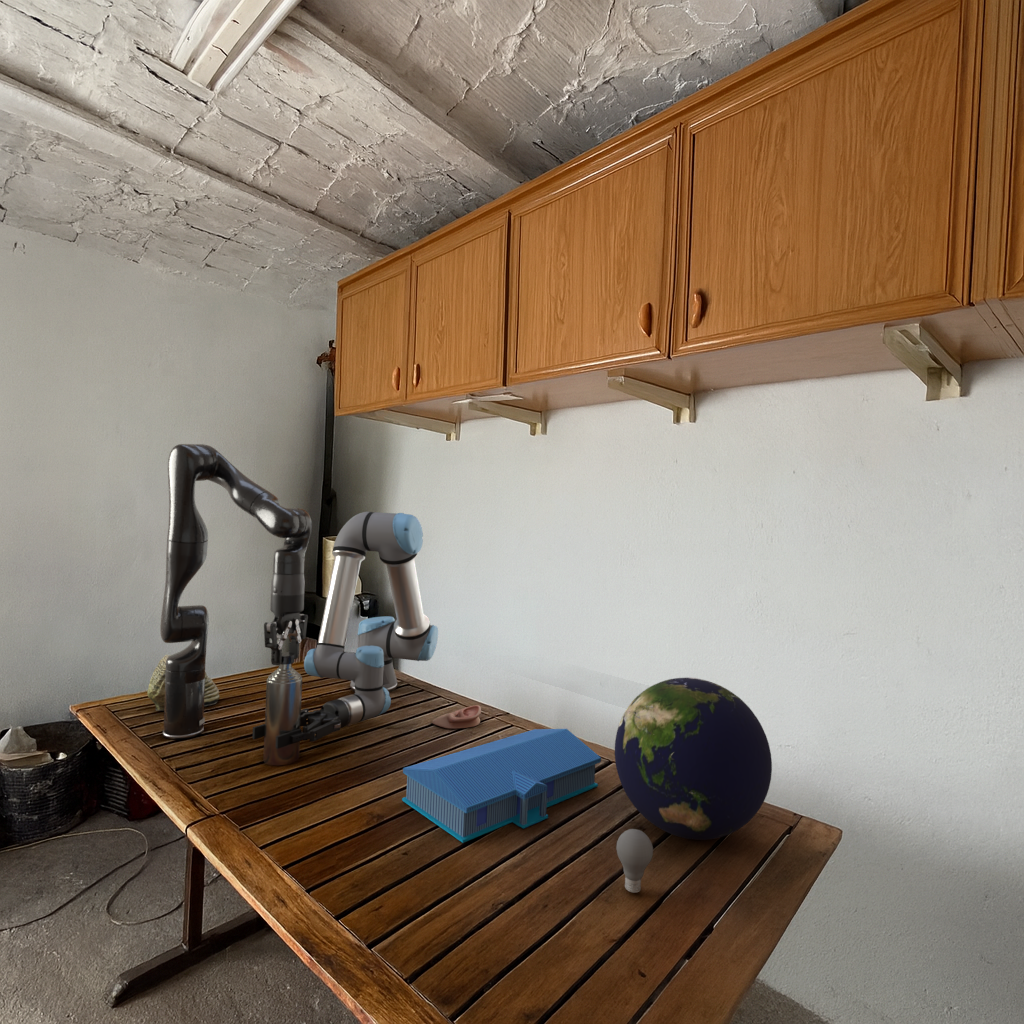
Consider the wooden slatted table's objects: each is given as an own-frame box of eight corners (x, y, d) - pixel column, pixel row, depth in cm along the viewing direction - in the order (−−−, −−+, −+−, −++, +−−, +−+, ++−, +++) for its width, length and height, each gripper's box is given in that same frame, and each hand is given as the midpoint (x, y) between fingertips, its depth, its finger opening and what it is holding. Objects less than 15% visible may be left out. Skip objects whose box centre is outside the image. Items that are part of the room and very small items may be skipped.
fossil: (144, 707, 182) (145, 655, 182) (212, 696, 194) (213, 647, 194) (151, 716, 175) (153, 662, 175) (221, 703, 188) (223, 653, 188)
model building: (473, 850, 116) (475, 796, 115) (400, 799, 134) (402, 752, 134) (609, 791, 142) (611, 746, 142) (533, 755, 160) (535, 716, 160)
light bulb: (610, 879, 108) (613, 822, 108) (644, 879, 109) (647, 822, 109) (619, 902, 102) (622, 840, 102) (655, 901, 103) (658, 840, 103)
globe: (594, 848, 118) (602, 688, 118) (628, 784, 146) (634, 654, 145) (767, 892, 107) (776, 715, 106) (767, 813, 134) (775, 673, 134)
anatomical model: (428, 712, 177) (441, 699, 188) (427, 726, 177) (440, 713, 188) (474, 717, 174) (484, 704, 186) (473, 731, 174) (484, 718, 186)
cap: (286, 659, 154) (286, 651, 154) (298, 662, 152) (298, 653, 152) (272, 662, 151) (272, 654, 151) (284, 665, 149) (284, 657, 149)
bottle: (265, 753, 155) (269, 653, 154) (300, 750, 157) (303, 652, 157) (261, 766, 147) (265, 661, 147) (298, 764, 149) (302, 660, 149)
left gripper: (282, 597, 143) (279, 670, 144) (318, 589, 157) (316, 656, 157) (254, 594, 145) (251, 667, 146) (292, 586, 159) (290, 653, 159)
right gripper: (368, 736, 161) (292, 765, 142) (314, 718, 173) (238, 742, 154) (369, 707, 161) (294, 732, 142) (315, 690, 173) (239, 711, 154)
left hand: (285, 661), depth 152 cm, fingers open, 6 cm apart
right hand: (265, 737), depth 148 cm, fingers closed on bottle, 8 cm apart
